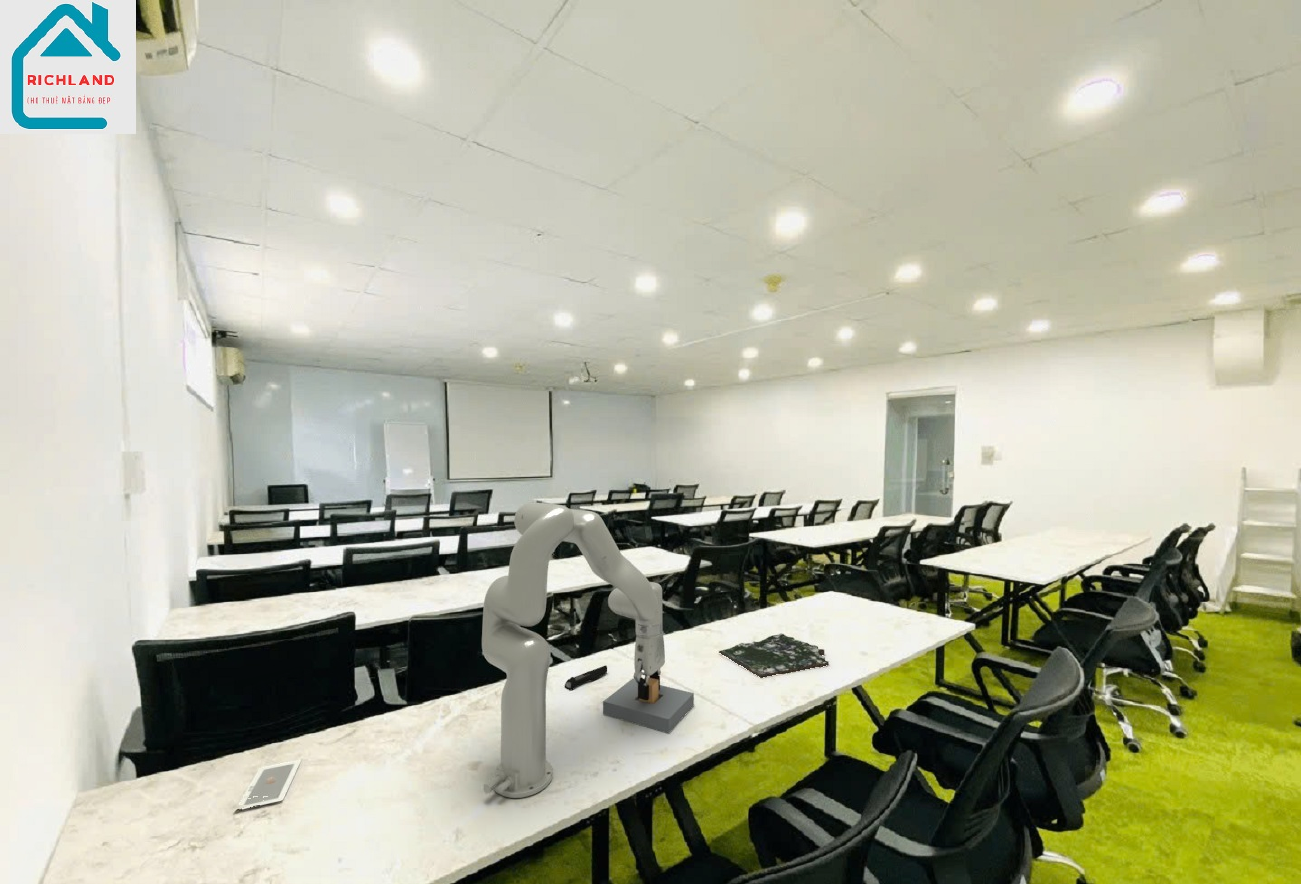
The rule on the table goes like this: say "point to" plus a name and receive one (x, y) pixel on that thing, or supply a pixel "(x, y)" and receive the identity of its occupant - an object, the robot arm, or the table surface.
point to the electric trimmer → (585, 677)
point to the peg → (652, 691)
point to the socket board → (649, 707)
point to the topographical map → (776, 656)
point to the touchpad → (270, 783)
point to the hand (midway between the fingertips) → (649, 693)
